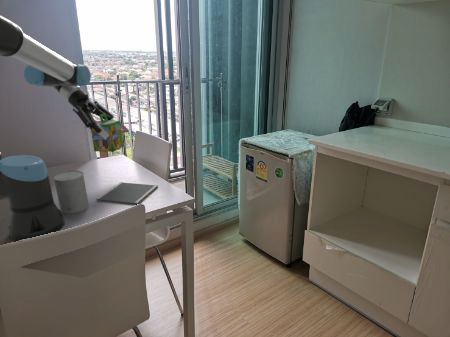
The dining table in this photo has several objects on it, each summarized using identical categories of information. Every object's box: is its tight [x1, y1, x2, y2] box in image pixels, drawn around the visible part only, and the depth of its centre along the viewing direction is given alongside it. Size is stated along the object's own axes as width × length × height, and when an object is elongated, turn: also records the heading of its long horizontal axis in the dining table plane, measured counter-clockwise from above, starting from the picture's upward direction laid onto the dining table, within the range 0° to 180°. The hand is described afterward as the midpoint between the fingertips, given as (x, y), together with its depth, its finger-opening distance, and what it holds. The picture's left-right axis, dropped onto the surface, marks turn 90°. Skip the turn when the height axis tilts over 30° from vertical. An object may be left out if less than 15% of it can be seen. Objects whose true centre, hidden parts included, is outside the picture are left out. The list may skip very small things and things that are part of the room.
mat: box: [95, 181, 159, 206], centre depth 128 cm, size 17×17×1 cm
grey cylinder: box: [53, 170, 90, 214], centre depth 115 cm, size 10×10×12 cm
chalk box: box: [90, 113, 125, 153], centre depth 135 cm, size 9×9×15 cm
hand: (114, 134), depth 134 cm, fingers closed on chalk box, 9 cm apart
